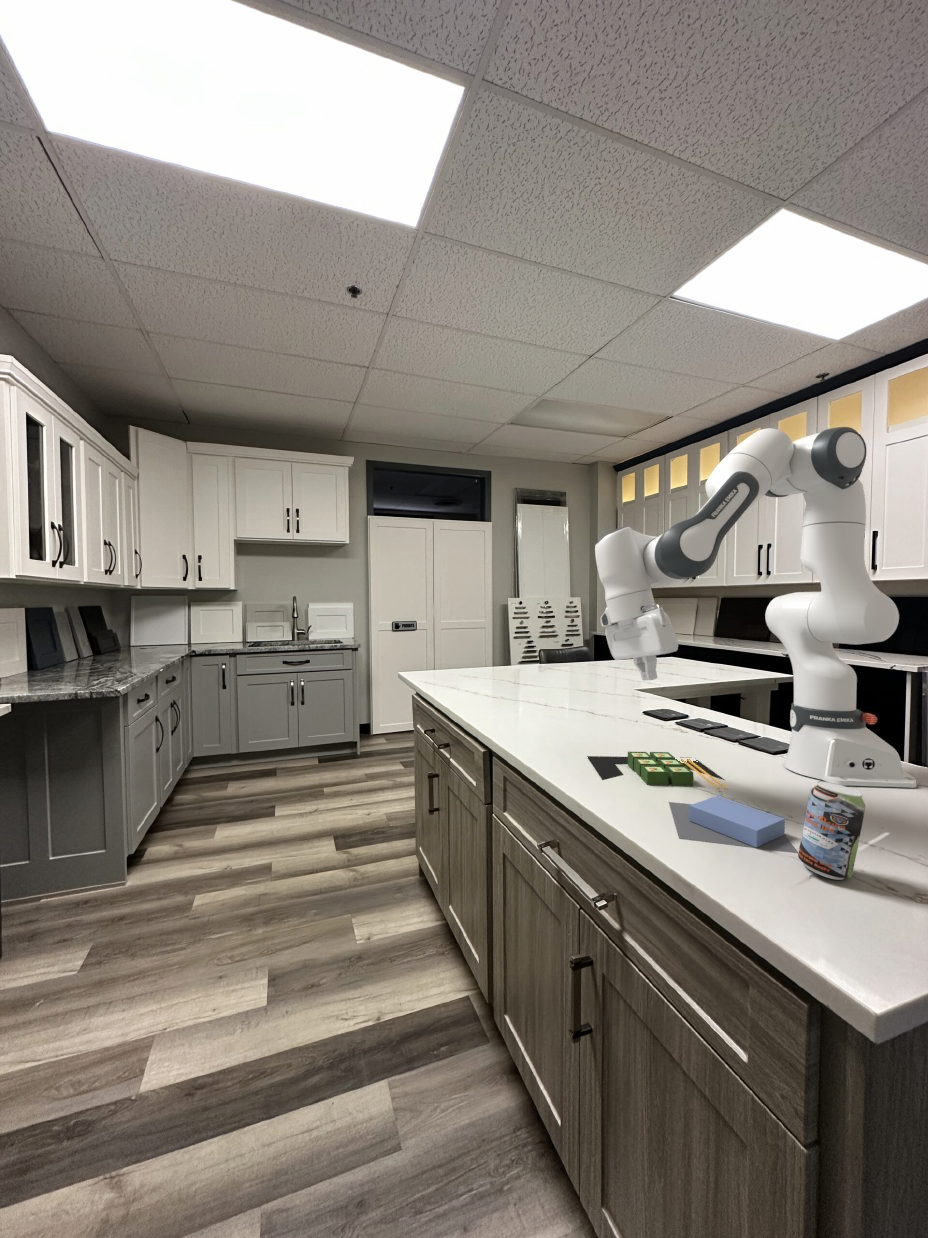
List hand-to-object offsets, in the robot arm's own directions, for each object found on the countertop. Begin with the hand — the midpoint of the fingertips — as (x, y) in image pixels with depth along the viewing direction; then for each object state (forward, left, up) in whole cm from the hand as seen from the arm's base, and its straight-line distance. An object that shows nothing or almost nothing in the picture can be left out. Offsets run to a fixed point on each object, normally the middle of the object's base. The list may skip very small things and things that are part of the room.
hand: (650, 679), depth 98 cm
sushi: (-3, -10, -23) cm, 25 cm away
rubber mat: (-11, +13, -22) cm, 28 cm away
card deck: (-8, +11, -20) cm, 24 cm away
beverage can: (-21, +25, -22) cm, 40 cm away
